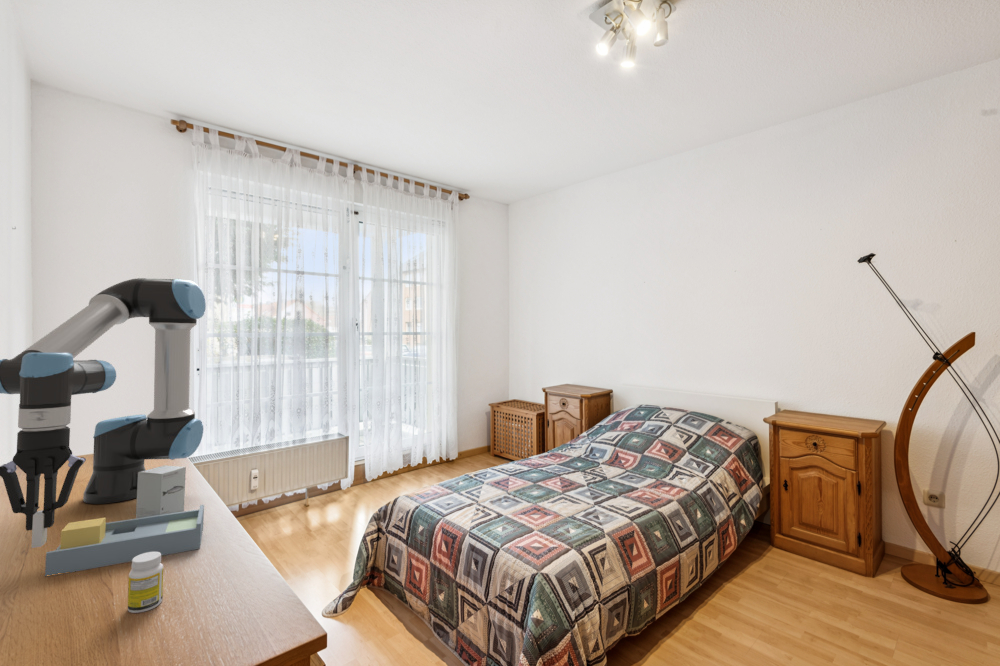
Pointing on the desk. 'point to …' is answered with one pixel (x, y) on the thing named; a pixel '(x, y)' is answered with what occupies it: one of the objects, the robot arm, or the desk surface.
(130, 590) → the supplement bottle
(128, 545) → the tray
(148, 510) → the supplement box
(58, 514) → the desk surface
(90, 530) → the block
